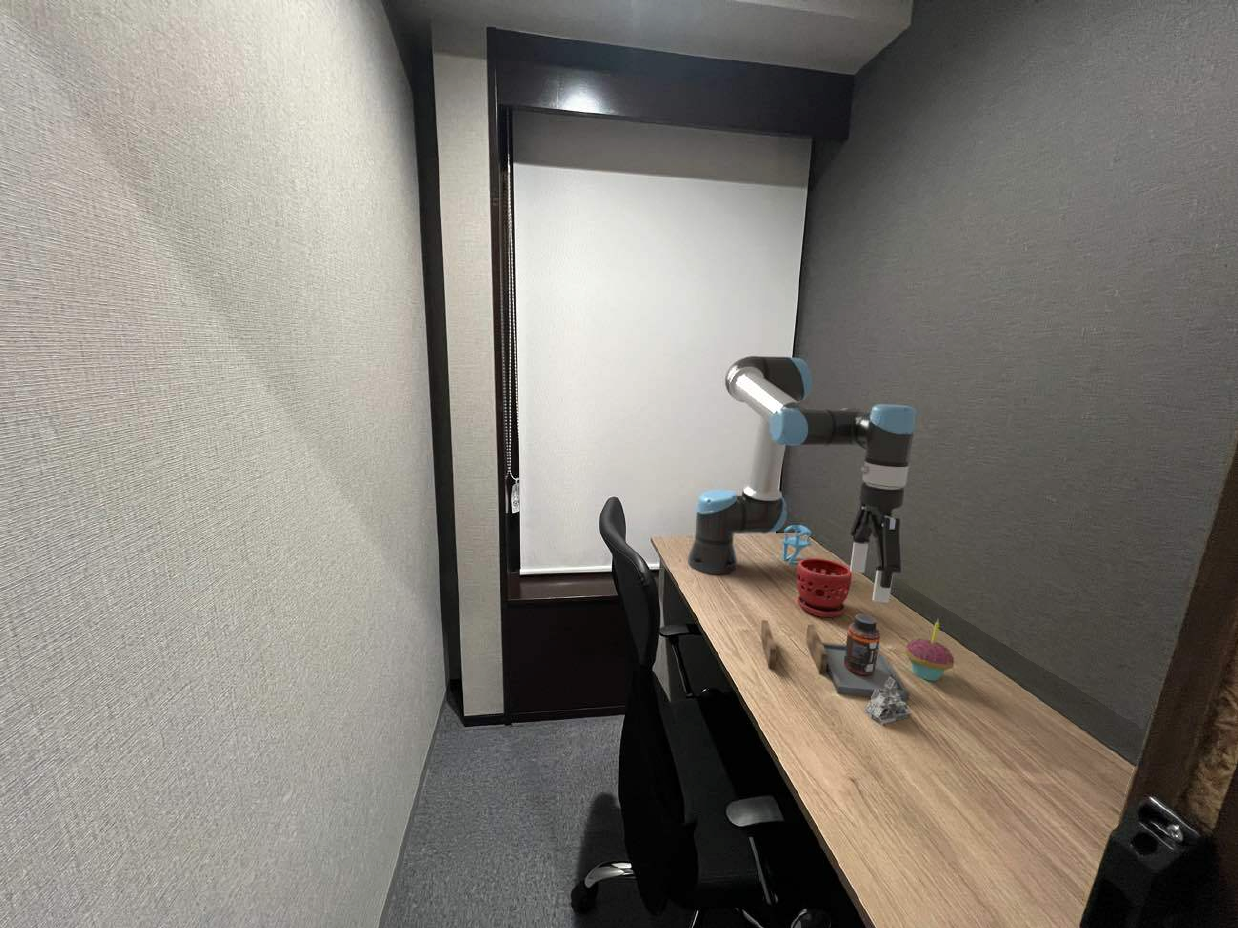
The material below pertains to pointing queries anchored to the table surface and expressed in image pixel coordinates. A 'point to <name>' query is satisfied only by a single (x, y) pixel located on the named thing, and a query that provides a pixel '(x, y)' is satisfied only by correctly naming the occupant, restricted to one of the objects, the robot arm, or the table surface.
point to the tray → (858, 683)
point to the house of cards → (887, 704)
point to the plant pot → (823, 586)
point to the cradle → (811, 641)
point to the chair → (795, 542)
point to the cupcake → (929, 657)
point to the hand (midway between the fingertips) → (867, 585)
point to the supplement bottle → (862, 645)
